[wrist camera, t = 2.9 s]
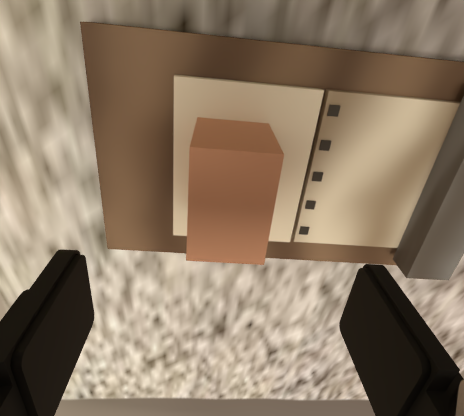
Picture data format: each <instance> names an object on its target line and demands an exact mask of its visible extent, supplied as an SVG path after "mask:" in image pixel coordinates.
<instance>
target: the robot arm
mask: <svg viewBox="0 0 464 416" xmlns="http://www.w3.org/2000/svg"><path fill="white" fill-rule="evenodd" d="M93 321H94V309H93V302H92V296H91V290H90V283H89V277H88V270H87V264H86V258H85V256H84V255H80V252H79V251H77V250H58V251H57V252H56V253H55V255H54V256H53V258H52V259H51V260H50V262H49V263H48V264H47V266H46V267H45V269H44V270H43V271H42V273H41V274H40V275H39V277H38V278H37V279H36V281H35V282H34V284H33V285H32V286H31V288H30V289H29V290H25V291H23V292H22V293H21V295H20V296H19V297H18V298H17V300H16V301H15V302H14V304H13V305H12V306H11V308H10V309H9V310H8V312H7V313H6V314H5V316H4V317H3V318H2V320H1V321H0V416H54V415H55V413H56V410H57V408H58V405H59V403H60V401H61V398H62V396H63V394H64V391H65V389H66V386H67V384H68V382H69V379H70V377H71V375H72V372H73V370H74V368H75V365H76V363H77V360H78V358H79V356H80V353H81V351H82V349H83V346H84V344H85V341H86V339H87V337H88V334H89V332H90V330H91V327H92V325H93ZM340 332H341V334H342V337H343V339H344V341H345V344H346V346H347V349H348V351H349V353H350V356H351V358H352V360H353V363H354V365H355V368H356V370H357V372H358V375H359V377H360V380H361V382H362V384H363V387H364V389H365V392H366V394H367V396H368V399H369V401H370V403H371V406H372V408H373V411H374V413H375V415H376V416H464V379H463V378H462V376H461V375H460V373H459V371H460V369H459V368H458V367H457V365H456V364H455V363H454V361H453V360H452V358H451V357H450V356H449V354H448V353H447V352H446V350H445V349H444V347H443V346H442V345H441V343H440V342H439V340H438V339H437V338H436V336H435V335H434V334H433V332H432V331H431V329H430V328H429V327H428V325H427V324H426V323H425V321H424V320H423V318H422V317H421V316H420V314H419V313H418V312H417V310H416V309H415V307H414V306H413V305H412V303H411V302H410V301H409V299H408V298H407V296H406V295H405V294H404V292H403V291H402V290H401V288H400V287H399V285H398V284H397V283H396V281H395V280H394V279H393V277H392V276H391V274H390V273H389V272H388V270H387V269H386V268H385V267H384V266H383V265H374V264H366V265H364V266H363V268H360V269H359V270H358V272H357V275H356V278H355V281H354V284H353V286H352V289H351V292H350V295H349V297H348V300H347V303H346V306H345V308H344V311H343V314H342V317H341V320H340Z"/></svg>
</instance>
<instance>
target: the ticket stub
mask: <svg viewBox="0 0 464 416" xmlns="http://www.w3.org/2000/svg"><path fill="white" fill-rule="evenodd" d="M323 94H324V90H322V89H318V88H308V87H298V86H287V85H277V84H267V83H256V82H246V81H236V80H226V79H215V78H205V77H195V76H184V75H174V141H173V235H178V236H187V249H186V260H187V261H206V262H224V263H242V264H260V265H264V262H265V256H266V251H267V245H268V241H277V242H290V240H291V235H292V231H293V227H294V222H295V218H296V213H297V209H298V204H299V200H300V196H301V191H302V187H303V182H304V178H305V173H306V169H307V165H308V160H309V156H310V151H311V147H312V143H313V138H314V134H315V129H316V125H317V120H318V116H319V112H320V107H321V103H322V98H323Z"/></svg>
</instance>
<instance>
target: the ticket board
mask: <svg viewBox="0 0 464 416" xmlns="http://www.w3.org/2000/svg"><path fill="white" fill-rule="evenodd" d="M80 25H81V33H82V41H83V50H84V58H85V66H86V74H87V83H88V91H89V99H90V107H91V115H92V124H93V132H94V140H95V148H96V157H97V165H98V173H99V181H100V190H101V198H102V206H103V214H104V223H105V231H106V239H107V247H108V249H121V250H139V251H156V252H174V253H186V249H187V236H178V235H173V141H174V75H184V76H195V77H205V78H215V79H226V80H236V81H246V82H256V83H267V84H277V85H287V86H298V87H308V88H318V89H322V90H324V94H323V98H322V103H321V107H320V112H319V116H318V120H317V125H316V129H315V134H314V138H313V143H312V147H311V151H310V156H309V160H308V165H307V169H306V173H305V178H304V182H303V187H302V191H301V196H300V200H299V204H298V209H297V213H296V218H295V222H294V227H293V231H292V235H291V240H290V242H277V241H268V245H267V251H266V256H265V258H280V259H297V260H315V261H333V262H350V263H368V264H386V265H397V266H398V267H399V268H400V270H401V271H402V273H403V274H404V275H405V277H406V278H417V279H435V280H449V279H450V277H451V275H452V274H453V272H454V270H455V268H456V267H457V265H458V263H459V261H460V259H461V258H462V256H463V254H464V62H459V61H450V60H440V59H431V58H422V57H412V56H403V55H394V54H384V53H375V52H366V51H356V50H347V49H337V48H328V47H319V46H309V45H300V44H291V43H281V42H272V41H263V40H253V39H244V38H234V37H225V36H216V35H206V34H197V33H188V32H178V31H169V30H159V29H150V28H141V27H131V26H122V25H113V24H103V23H94V22H80Z"/></svg>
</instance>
